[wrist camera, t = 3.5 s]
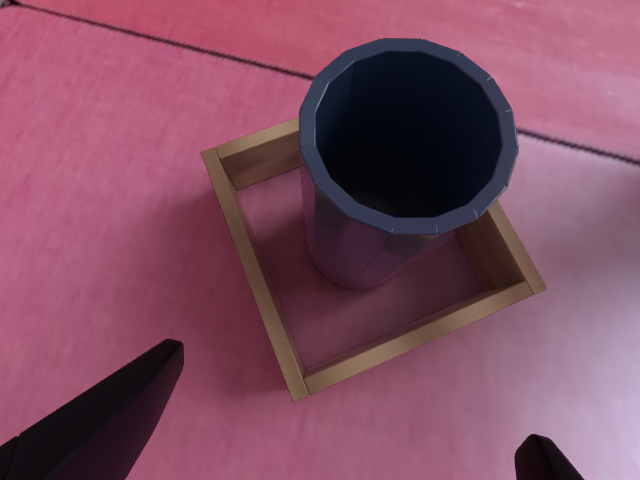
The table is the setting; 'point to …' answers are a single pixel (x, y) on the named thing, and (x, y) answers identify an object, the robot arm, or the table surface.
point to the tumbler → (398, 156)
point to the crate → (501, 291)
